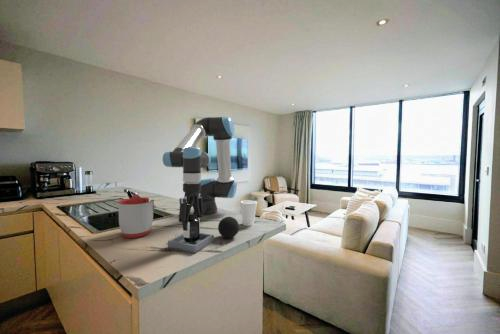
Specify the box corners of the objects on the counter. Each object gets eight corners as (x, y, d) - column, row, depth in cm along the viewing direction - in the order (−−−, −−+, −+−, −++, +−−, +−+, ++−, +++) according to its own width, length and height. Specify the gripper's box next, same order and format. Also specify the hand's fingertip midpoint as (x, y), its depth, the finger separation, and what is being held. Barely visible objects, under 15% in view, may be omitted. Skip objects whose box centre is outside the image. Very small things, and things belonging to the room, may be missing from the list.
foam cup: (250, 227, 120) (251, 204, 119) (237, 224, 125) (237, 202, 124) (259, 223, 128) (259, 201, 127) (246, 220, 133) (246, 199, 132)
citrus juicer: (162, 233, 110) (162, 193, 109) (124, 243, 97) (124, 198, 96) (149, 226, 120) (149, 190, 119) (113, 234, 107) (112, 194, 106)
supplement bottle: (201, 237, 100) (201, 211, 99) (196, 243, 93) (196, 215, 92) (187, 236, 100) (187, 210, 100) (181, 242, 94) (181, 214, 93)
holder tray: (188, 236, 106) (188, 230, 106) (213, 241, 101) (213, 234, 100) (167, 247, 93) (167, 240, 93) (195, 253, 88) (195, 246, 87)
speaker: (213, 238, 104) (213, 217, 104) (227, 232, 113) (227, 213, 112) (229, 243, 99) (230, 221, 98) (242, 236, 107) (243, 216, 106)
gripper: (198, 179, 106) (197, 226, 107) (168, 184, 88) (169, 240, 89) (211, 180, 103) (211, 228, 104) (184, 185, 85) (184, 243, 86)
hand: (191, 234), depth 96 cm, fingers closed on supplement bottle, 7 cm apart
